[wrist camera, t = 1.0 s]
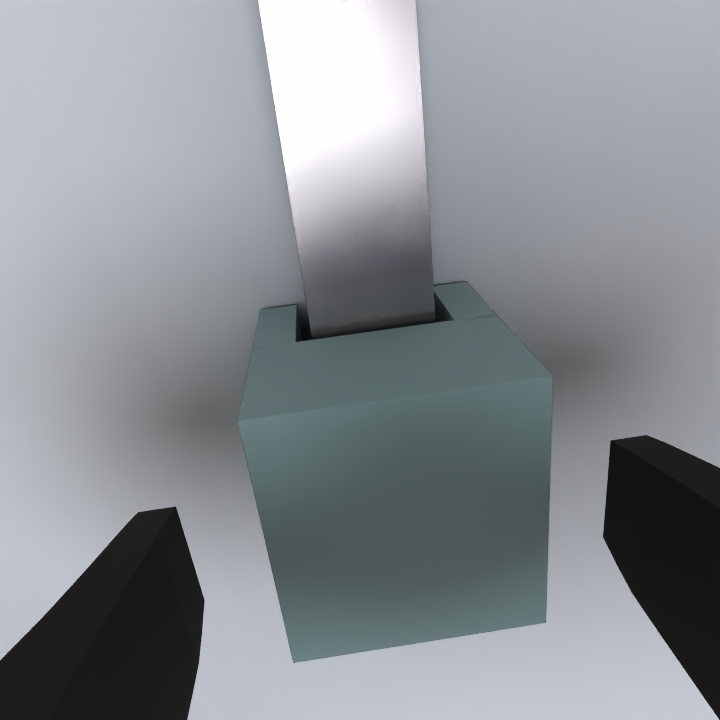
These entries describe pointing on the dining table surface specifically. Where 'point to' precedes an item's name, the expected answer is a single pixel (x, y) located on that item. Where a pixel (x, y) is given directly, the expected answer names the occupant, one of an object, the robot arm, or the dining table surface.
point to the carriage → (400, 477)
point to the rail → (354, 159)
